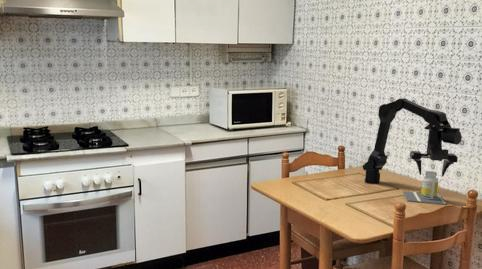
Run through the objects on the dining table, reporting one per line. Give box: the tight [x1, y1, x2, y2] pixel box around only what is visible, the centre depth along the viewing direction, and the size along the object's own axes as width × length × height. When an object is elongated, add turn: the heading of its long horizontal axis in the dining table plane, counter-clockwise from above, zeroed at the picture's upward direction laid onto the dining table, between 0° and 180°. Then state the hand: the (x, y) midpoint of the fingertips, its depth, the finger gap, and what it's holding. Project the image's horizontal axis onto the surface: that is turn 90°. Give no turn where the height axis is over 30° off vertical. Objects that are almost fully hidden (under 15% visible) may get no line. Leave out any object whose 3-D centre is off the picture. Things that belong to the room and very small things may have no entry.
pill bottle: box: [420, 170, 439, 199], centre depth 206 cm, size 6×6×12 cm
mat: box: [402, 190, 447, 206], centre depth 207 cm, size 16×14×1 cm
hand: (431, 175), depth 205 cm, fingers open, 9 cm apart
